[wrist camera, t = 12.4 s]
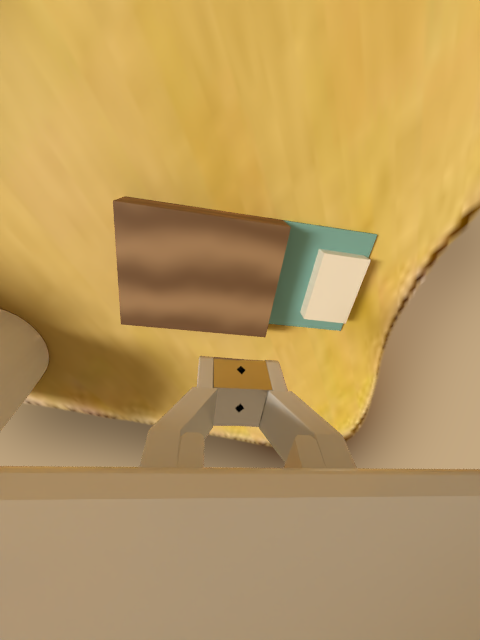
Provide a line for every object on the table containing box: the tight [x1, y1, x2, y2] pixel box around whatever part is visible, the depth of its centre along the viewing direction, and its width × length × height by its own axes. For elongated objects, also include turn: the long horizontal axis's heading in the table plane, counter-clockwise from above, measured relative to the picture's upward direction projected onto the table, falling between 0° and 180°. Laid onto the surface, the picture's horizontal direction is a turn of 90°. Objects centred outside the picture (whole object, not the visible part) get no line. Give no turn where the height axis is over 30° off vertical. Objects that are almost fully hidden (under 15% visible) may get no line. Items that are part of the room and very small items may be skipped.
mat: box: [269, 220, 377, 331], centre depth 37 cm, size 14×12×1 cm
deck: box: [113, 197, 291, 337], centre depth 33 cm, size 14×18×4 cm
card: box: [300, 249, 371, 323], centre depth 36 cm, size 9×6×2 cm, turn 171°
